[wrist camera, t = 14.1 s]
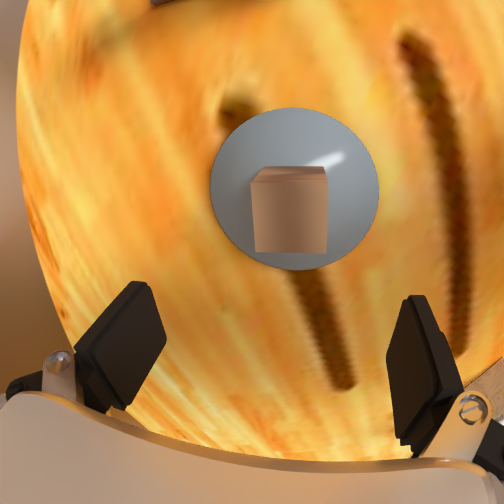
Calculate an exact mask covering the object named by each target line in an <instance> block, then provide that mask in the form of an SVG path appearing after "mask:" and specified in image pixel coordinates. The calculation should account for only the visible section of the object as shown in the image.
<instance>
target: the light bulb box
mask: <svg viewBox="0 0 504 504" xmlns="http://www.w3.org/2000/svg"><path fill="white" fill-rule="evenodd" d="M469 390H470V391H477V392H480V393H482V394H483V395H484V396H486V397H487V399H488V400H489V402H490V404H491V407H492V416H491V418H492V419H494V420H495V421H497V422H499V423H500V424H502V425H503V426H504V358H503V357H502V358H501V359H500V360H498V361H497V362H496V363H495V364H494V365H493V366H492V367H491V368H489V369H488V370H487V371H486V372H485V373H483V374H482V375H481V376H480V377H478V378H477V379H476V380H475V381H473V382H472V383H471V384H470V385H468V386H467V387H466V388H464V391H465V392H466V391H469Z"/></svg>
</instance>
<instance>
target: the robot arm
mask: <svg viewBox="0 0 504 504" xmlns="http://www.w3.org/2000/svg"><path fill="white" fill-rule="evenodd" d="M166 340H167V337H166V333H165V330H164V327H163V324H162V322H161V319H160V315H159V312H158V309H157V306H156V303H155V300H154V297H153V293H152V290H151V288H150V286H148V285H147V283H146V282H141V281H131V282H130V283H129V284H128V285H127V286H126V287H125V288H124V289H123V291H122V292H121V293H120V294H119V295H118V296H117V297H116V298H115V299H114V300H113V302H112V303H111V304H110V305H109V306H108V307H107V308H106V309H105V311H104V312H103V313H102V314H101V315H100V316H99V317H98V319H97V320H96V321H95V322H94V323H93V324H92V325H91V327H90V328H89V329H88V330H87V331H86V333H85V334H84V335H83V336H82V337H81V338H80V340H79V341H78V342H77V343H76V345H75V346H74V347H73V348H74V349H75V351H76V353H75V354H74V355H73V353H72V352H71V351H69V350H66V349H62V350H58V351H56V352H53V353H52V354H51V355H49V356H48V358H47V359H46V360H45V362H44V366H43V370H41V371H38V372H35V373H32V374H30V375H27V376H24V377H20V378H18V379H15V380H14V381H12V382H11V383H10V384H9V386H8V388H7V390H6V395H5V394H4V393H3V394H1V395H0V504H504V426H503V425H502V424H500V423H499V422H497V421H495V420H494V419H492V418H491V416H492V407H491V404H490V402H489V400H488V399H487V397H486V396H484V395H483V394H482V393H480V392H477V391H470V390H469V391H466V392H465V391H464V388H463V384H462V381H461V378H460V375H459V372H458V369H457V366H456V364H455V361H454V358H453V355H452V353H451V350H450V347H449V345H448V342H447V340H446V337H445V335H444V333H443V332H441V331H440V329H439V327H438V324H437V322H436V320H435V317H434V315H433V313H432V310H431V308H430V306H429V303H428V301H427V299H426V297H425V296H424V295H409V296H408V298H407V299H404V300H403V302H402V305H401V309H400V312H399V316H398V319H397V323H396V326H395V329H394V332H393V335H392V338H391V341H390V344H389V347H388V350H387V354H386V364H387V371H388V377H389V384H390V391H391V399H392V407H393V416H394V426H395V436H396V438H397V439H399V438H400V445H401V446H405V445H410V446H411V451H412V454H411V455H410V457H409V458H408V459H393V460H379V461H355V462H324V461H301V460H288V459H277V458H268V457H260V456H253V455H246V454H240V453H234V452H229V451H224V450H218V449H214V448H209V447H205V446H200V445H196V444H192V443H188V442H184V441H181V440H177V439H173V438H170V437H167V436H163V435H160V434H157V433H153V432H150V431H147V430H144V429H141V428H139V427H135V426H133V425H130V424H127V423H125V422H122V421H120V420H117V419H114V418H112V417H111V414H110V410H109V408H110V407H111V405H112V406H113V407H114V408H117V409H119V410H122V411H124V410H125V409H126V407H127V405H130V404H131V403H132V401H133V400H134V398H135V396H136V394H137V393H138V391H139V389H140V387H141V386H142V384H143V382H144V380H145V379H146V377H147V375H148V373H149V372H150V370H151V368H152V366H153V365H154V363H155V361H156V360H157V358H158V356H159V354H160V353H161V351H162V349H163V348H164V346H165V344H166Z"/></svg>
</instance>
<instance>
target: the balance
mask: <svg viewBox="0 0 504 504" xmlns="http://www.w3.org/2000/svg"><path fill="white" fill-rule="evenodd" d="M169 1H173V0H151V4H153V5H155V6H157V5H160V4H163V3H166V2H169Z"/></svg>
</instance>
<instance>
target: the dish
mask: <svg viewBox="0 0 504 504" xmlns="http://www.w3.org/2000/svg"><path fill="white" fill-rule="evenodd" d="M265 166H324V169H325V173H326V177H327V181H328V220H327V245H326V254H321V253H281V252H255V238H254V225H253V211H252V198H251V185H250V183H251V182H252V181H253V179H254V178H255V177H256V176H257V175H258V173H259V172H260V171H261V170H262V169H263V167H265ZM210 194H211V201H212V206H213V209H214V212H215V215H216V218H217V220H218V222H219V224H220V226H221V228H222V229H223V231H224V232H225V234H226V235H227V236H228V238H229V239H230V240H231V241H232V242H233V243H234V244H235V245H236V246H237V247H238V248H239V249H240V250H241V251H243V252H244V253H245V254H247V255H248V256H250V257H252V258H253V259H255V260H257V261H259V262H261V263H263V264H266V265H269V266H272V267H275V268H280V269H286V270H308V269H315V268H319V267H322V266H326V265H328V264H331V263H333V262H335V261H337V260H339V259H341V258H342V257H344V256H345V255H347V254H348V253H349V252H351V251H352V250H353V249H354V248H355V247H356V246H357V245H358V244H359V243H360V242H361V240H362V239H363V238H364V237H365V235H366V234H367V232H368V230H369V229H370V227H371V225H372V222H373V220H374V218H375V214H376V211H377V207H378V200H379V184H378V177H377V172H376V169H375V165H374V163H373V161H372V158H371V156H370V154H369V152H368V151H367V149H366V147H365V146H364V144H363V143H362V142H361V141H360V139H359V138H358V137H357V136H356V135H355V134H354V133H353V132H352V131H351V130H350V129H349V128H348V127H346V126H345V125H343V124H342V123H340V122H339V121H337V120H336V119H334V118H332V117H330V116H328V115H325V114H323V113H320V112H317V111H313V110H308V109H302V108H284V109H276V110H272V111H268V112H265V113H262V114H260V115H257V116H255V117H253V118H251V119H249V120H248V121H246V122H244V123H243V124H242V125H241V126H239V127H238V128H237V129H236V130H235V131H234V132H233V133H232V134H231V135H230V136H229V137H228V138H227V139H226V141H225V142H224V143H223V145H222V146H221V148H220V150H219V152H218V154H217V156H216V159H215V161H214V164H213V168H212V173H211V180H210Z"/></svg>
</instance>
